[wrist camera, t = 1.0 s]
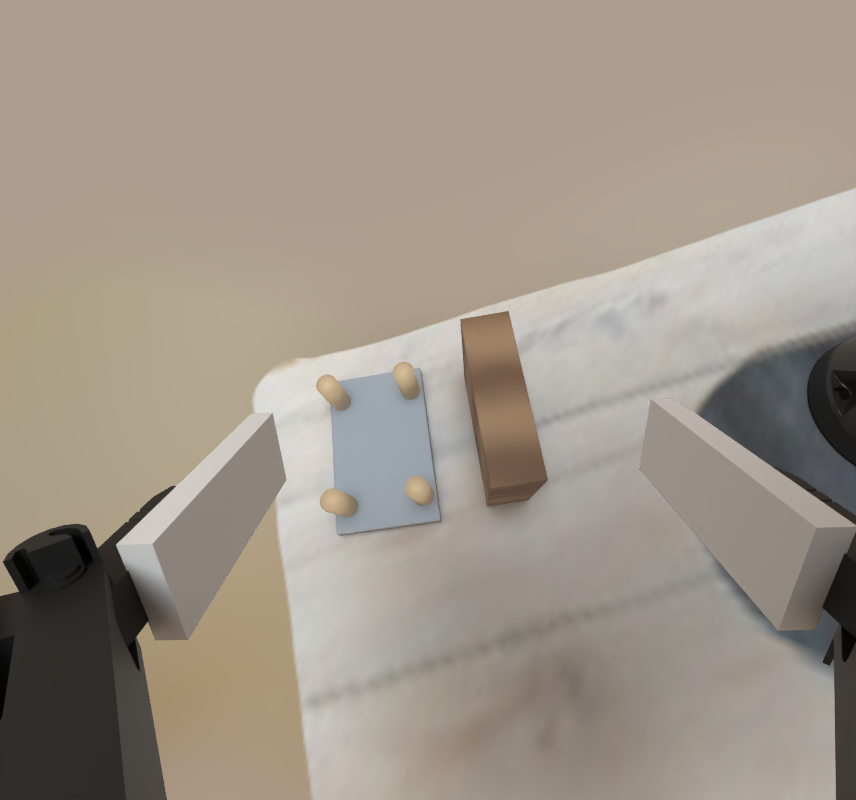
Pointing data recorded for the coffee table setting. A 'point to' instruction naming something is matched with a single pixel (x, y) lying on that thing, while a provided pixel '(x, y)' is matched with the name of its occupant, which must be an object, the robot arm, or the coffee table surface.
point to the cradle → (380, 452)
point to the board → (500, 410)
